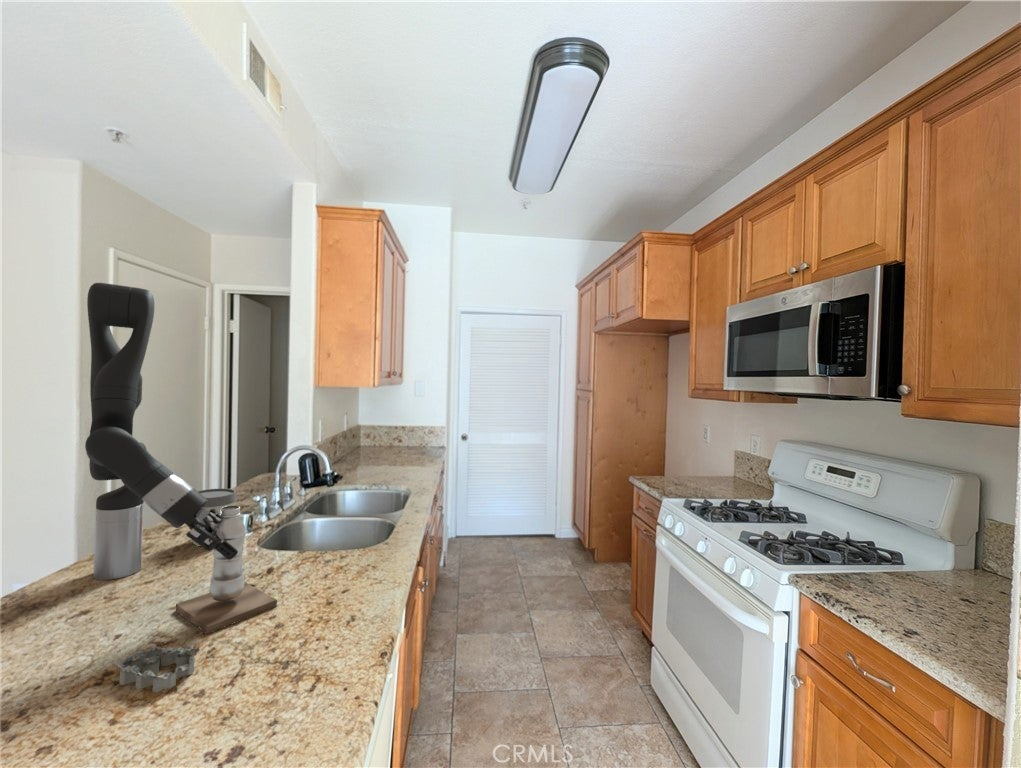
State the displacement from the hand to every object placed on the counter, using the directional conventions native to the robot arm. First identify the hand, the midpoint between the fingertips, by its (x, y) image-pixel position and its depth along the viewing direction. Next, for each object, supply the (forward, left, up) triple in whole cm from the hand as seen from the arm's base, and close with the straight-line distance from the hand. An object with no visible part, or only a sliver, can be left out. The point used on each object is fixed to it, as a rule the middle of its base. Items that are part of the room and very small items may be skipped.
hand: (237, 550), depth 99 cm
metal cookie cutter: (+14, -19, -13) cm, 27 cm away
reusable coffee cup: (-47, +15, -13) cm, 51 cm away
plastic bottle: (-1, -1, -10) cm, 11 cm away
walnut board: (-1, -1, -13) cm, 13 cm away
